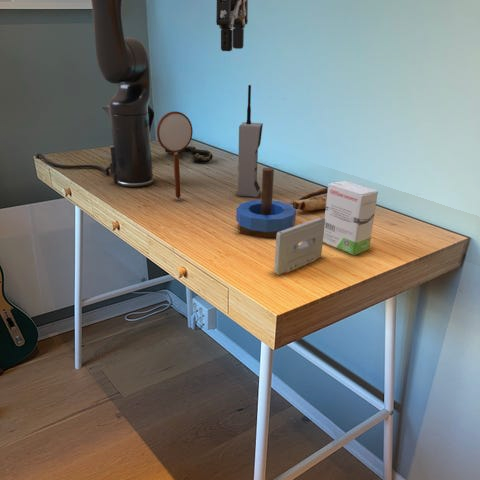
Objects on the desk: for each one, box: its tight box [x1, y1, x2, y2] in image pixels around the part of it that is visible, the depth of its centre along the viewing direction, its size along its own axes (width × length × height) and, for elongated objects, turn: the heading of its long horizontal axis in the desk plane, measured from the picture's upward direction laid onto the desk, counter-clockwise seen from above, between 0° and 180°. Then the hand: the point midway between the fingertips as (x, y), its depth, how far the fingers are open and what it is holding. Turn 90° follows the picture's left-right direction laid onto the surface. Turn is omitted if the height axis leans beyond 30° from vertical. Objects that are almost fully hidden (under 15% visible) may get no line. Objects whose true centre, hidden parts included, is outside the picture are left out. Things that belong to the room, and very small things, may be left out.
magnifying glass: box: [156, 110, 194, 202], centre depth 113 cm, size 9×2×20 cm, turn 121°
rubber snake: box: [164, 145, 214, 164], centre depth 152 cm, size 18×5×10 cm
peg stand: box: [238, 167, 286, 239], centre depth 101 cm, size 9×9×12 cm
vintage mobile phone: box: [237, 84, 264, 198], centre depth 117 cm, size 4×5×25 cm
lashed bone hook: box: [292, 187, 328, 212], centre depth 116 cm, size 9×5×18 cm
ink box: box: [323, 180, 379, 256], centre depth 94 cm, size 9×5×12 cm, turn 39°
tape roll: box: [235, 199, 297, 232], centre depth 103 cm, size 12×12×3 cm
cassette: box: [273, 216, 325, 276], centre depth 87 cm, size 12×2×8 cm, turn 133°
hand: (232, 49), depth 102 cm, fingers open, 8 cm apart
